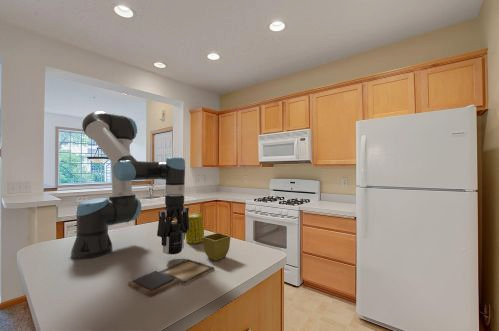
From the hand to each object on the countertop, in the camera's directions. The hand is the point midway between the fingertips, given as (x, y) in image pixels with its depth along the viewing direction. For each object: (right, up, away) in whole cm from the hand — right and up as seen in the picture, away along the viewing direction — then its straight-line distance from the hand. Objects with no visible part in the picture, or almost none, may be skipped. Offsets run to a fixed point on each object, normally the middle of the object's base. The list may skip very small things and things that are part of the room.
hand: (173, 250), depth 95 cm
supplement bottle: (0, -1, 0) cm, 1 cm away
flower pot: (+18, -4, +2) cm, 18 cm away
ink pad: (0, -3, -21) cm, 21 cm away
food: (+3, -4, +23) cm, 24 cm away
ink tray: (0, -3, -21) cm, 21 cm away
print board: (+9, -4, -12) cm, 15 cm away
